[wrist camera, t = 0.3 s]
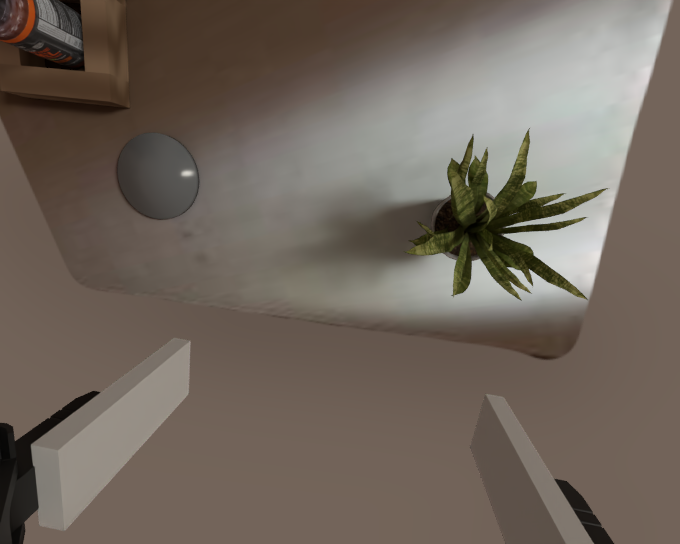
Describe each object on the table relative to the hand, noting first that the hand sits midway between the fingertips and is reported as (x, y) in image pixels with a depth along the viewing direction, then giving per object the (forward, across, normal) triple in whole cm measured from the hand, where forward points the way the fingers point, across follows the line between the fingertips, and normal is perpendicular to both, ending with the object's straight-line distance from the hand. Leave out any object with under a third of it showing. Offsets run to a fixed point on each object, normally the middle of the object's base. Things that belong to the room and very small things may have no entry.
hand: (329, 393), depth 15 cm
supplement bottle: (+28, -36, +20) cm, 50 cm away
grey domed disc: (+28, -26, +6) cm, 38 cm away
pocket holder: (+28, -36, +20) cm, 50 cm away
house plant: (+28, +12, +7) cm, 31 cm away
